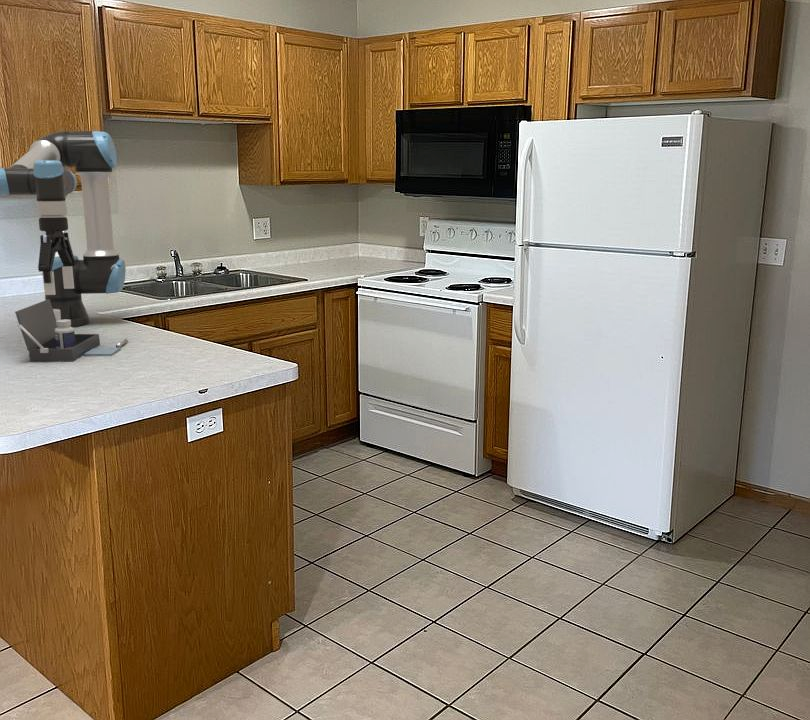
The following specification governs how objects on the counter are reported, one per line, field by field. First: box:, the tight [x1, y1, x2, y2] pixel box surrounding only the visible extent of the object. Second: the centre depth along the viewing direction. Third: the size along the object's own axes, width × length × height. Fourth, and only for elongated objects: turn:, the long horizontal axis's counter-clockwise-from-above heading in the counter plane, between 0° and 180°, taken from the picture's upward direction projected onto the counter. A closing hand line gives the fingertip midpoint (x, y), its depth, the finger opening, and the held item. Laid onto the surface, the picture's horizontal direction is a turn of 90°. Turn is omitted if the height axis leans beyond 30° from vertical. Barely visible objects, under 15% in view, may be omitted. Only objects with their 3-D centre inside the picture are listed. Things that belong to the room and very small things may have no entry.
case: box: [14, 299, 101, 363], centre depth 237 cm, size 22×15×14 cm, turn 1°
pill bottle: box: [54, 319, 76, 349], centre depth 238 cm, size 5×5×10 cm
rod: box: [115, 338, 129, 348], centre depth 249 cm, size 8×1×1 cm, turn 1°
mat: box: [83, 347, 122, 357], centre depth 239 cm, size 8×8×1 cm
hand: (59, 291), depth 235 cm, fingers open, 13 cm apart
